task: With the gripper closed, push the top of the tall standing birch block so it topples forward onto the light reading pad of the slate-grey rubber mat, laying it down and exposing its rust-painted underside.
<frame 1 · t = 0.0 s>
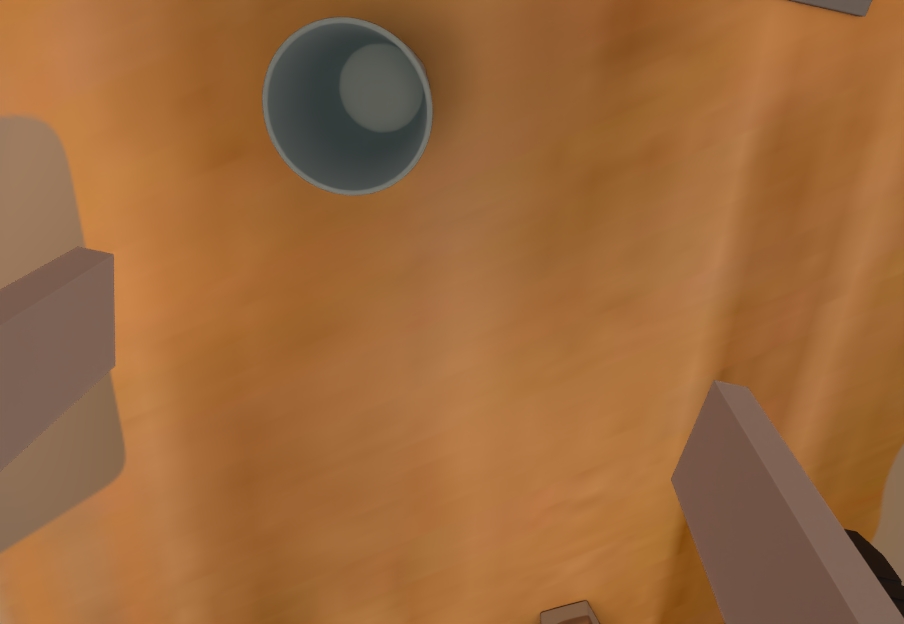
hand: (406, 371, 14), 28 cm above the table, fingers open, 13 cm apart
cup: (383, 87, 39), on the table
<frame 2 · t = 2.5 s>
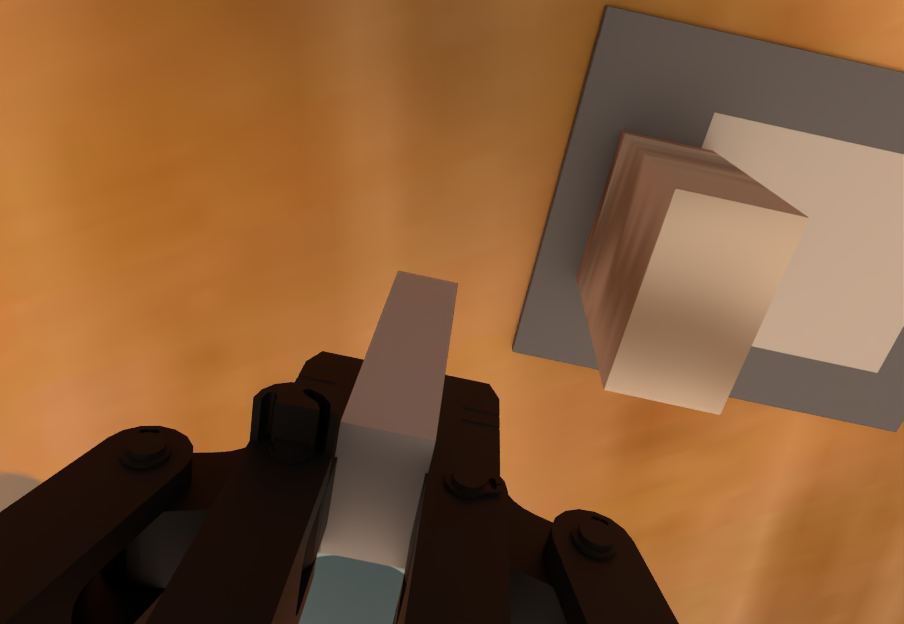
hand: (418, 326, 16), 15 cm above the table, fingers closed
mat: (764, 241, 30), on the table
cup: (388, 462, 37), on the table
block: (641, 217, 30), point 1 cm above the table, touching mat
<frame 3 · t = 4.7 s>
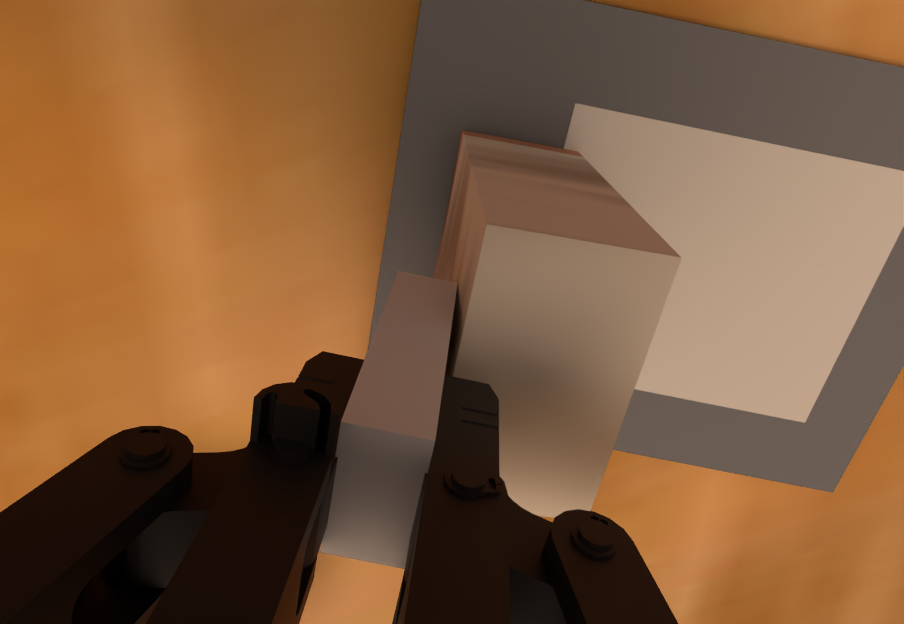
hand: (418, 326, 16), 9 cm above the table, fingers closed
mat: (656, 263, 24), on the table
block: (498, 238, 23), point 1 cm above the table, tilted 6°, touching gripper, mat
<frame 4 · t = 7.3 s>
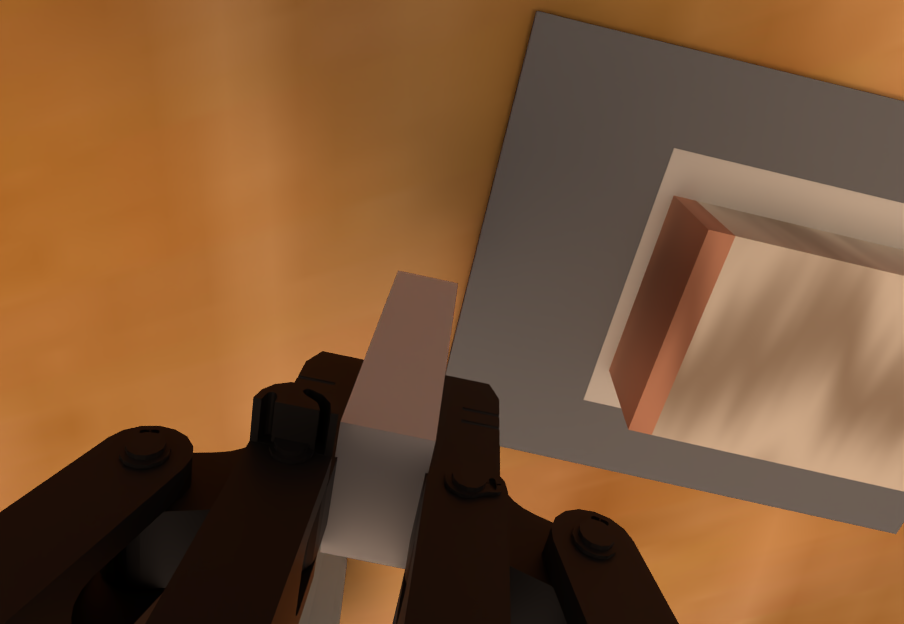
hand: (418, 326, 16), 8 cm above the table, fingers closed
mat: (738, 305, 25), on the table
cup: (290, 552, 31), on the table
block: (651, 310, 22), point 3 cm above the table, tilted 90°, touching mat
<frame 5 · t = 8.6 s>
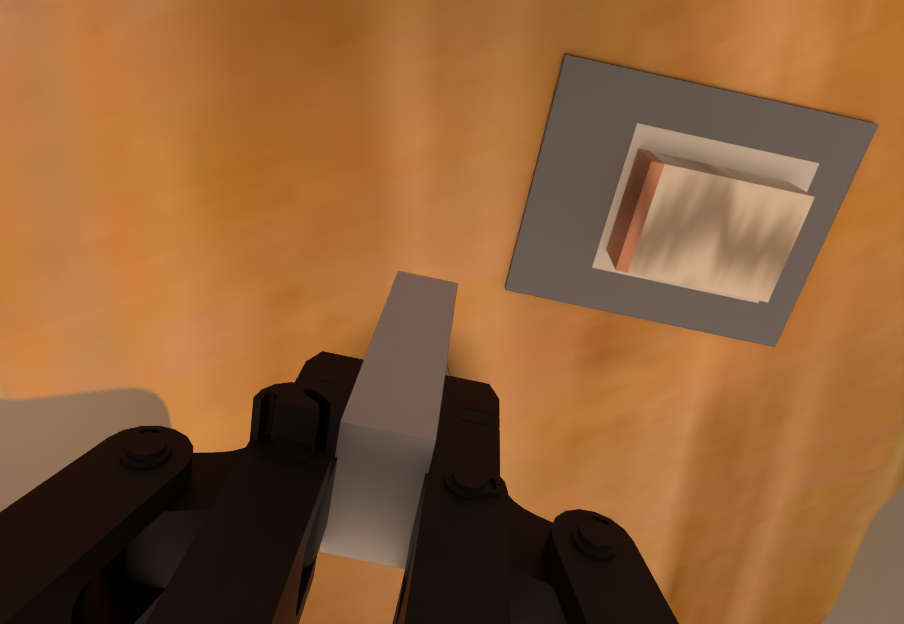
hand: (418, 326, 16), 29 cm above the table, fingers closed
mat: (676, 210, 44), on the table
block: (626, 208, 42), point 3 cm above the table, tilted 90°, touching mat
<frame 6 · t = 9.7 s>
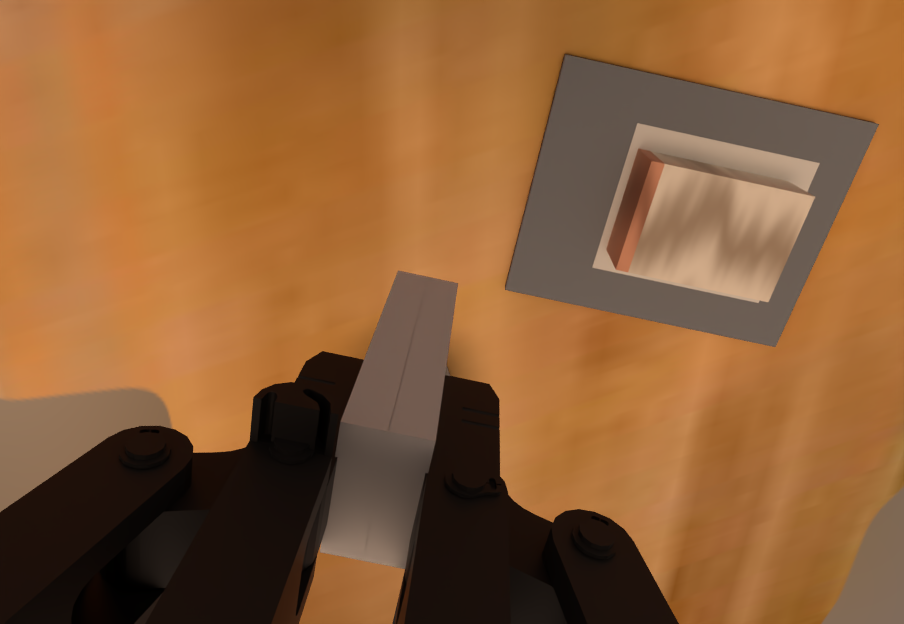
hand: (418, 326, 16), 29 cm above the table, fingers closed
mat: (676, 210, 44), on the table
block: (627, 208, 42), point 3 cm above the table, tilted 90°, touching mat
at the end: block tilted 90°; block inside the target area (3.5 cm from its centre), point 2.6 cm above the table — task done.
